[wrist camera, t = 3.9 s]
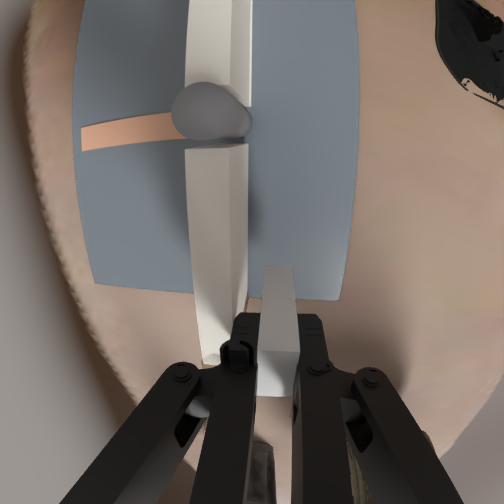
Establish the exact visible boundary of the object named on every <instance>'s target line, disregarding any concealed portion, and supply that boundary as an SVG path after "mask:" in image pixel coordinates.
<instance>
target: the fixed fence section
mask: <svg viewBox="0 0 504 504" xmlns="http://www.w3.org/2000/svg"><path fill="white" fill-rule="evenodd" d="M250 21H251V0H190V2H189V13H188V26H187V42H186V62H185V88H184V89H182V90H181V91H180V92H179V94H178V95H177V96H176V98H175V100H174V102H173V105H172V109H171V118H172V122H173V124H174V126H175V128H176V129H177V131H178V132H179V133H180V134H181V135H183V136H184V137H186V138H188V139H191V140H199V141H201V140H215V139H235V138H241V137H244V136H245V135H247V134H248V133H249V132H250V130H251V128H252V125H253V120H252V116H251V115H250V113H249V112H248V111H247V110H246V109H245V108H244V107H249V94H250Z"/></svg>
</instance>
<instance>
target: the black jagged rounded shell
mask: <svg viewBox="0 0 504 504" xmlns="http://www.w3.org/2000/svg"><path fill="white" fill-rule="evenodd" d="M435 37H436V44H437V48H438V52H439V54H440V56H441V58H442V60H443V62H444V64H445V65H446V67H447V68H448V70H449V71H450V73H451V74H452V75H453V77H454V78H455V79H456V81H457V82H458V83H459V84H460V85H461V86H462V87H463V88H464V89H465V90H467V91H469V90H468V89H466V88H465V87H464V86H466V84H464V83H463V84H464V86H463V85H462V83H461V82H462V80H463V79H464V78H469V79H470V80H471V81H473V83H474V84H475V85H476V86H478V87H479V88H480V89H482V90H483V91H485V92H487V93H489V92H490V93H492V95H493V99H494V95H495V96H496V98H497V102H493V101H491V100H488V99H486V98H484V97H482V96H479V95H477V94H475V93H473V94H474V95H476V96H478V97H480V98H482V99H484V100H486V101H488V102H490V103H492V104H494V105H496V106H498V107H500V108H502V109H504V107H503V106H501V105H499V104H497V103H498V101H500V100H503V98H504V22H503V21H502V20H501V18H500V17H498V16H497V17H494V15H493V14H491V13H489V11H488V10H487V9H484V8H483V7H482V6H480V5H479V4H478V3H477V2H476V1H474V0H436V36H435ZM467 82H470V81H469V80H468V81H467ZM467 82H466V83H467ZM490 96H491V94H490Z"/></svg>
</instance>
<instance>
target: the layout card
mask: <svg viewBox="0 0 504 504" xmlns="http://www.w3.org/2000/svg"><path fill="white" fill-rule="evenodd" d="M189 2H190V0H85V4H84V8H83V13H82V18H81V23H80V29H79V35H78V42H77V49H76V58H75V68H74V81H73V104H72V130H73V154H74V167H75V178H76V187H77V196H78V203H79V210H80V216H81V222H82V228H83V234H84V239H85V244H86V249H87V253H88V258H89V262H90V266H91V270H92V274H93V278H94V282H95V284H103V285H111V286H119V287H128V288H138V289H147V290H158V291H168V292H180V293H192V294H194V286H193V277H192V266H191V255H190V243H189V229H188V214H187V196H186V173H185V149H190V148H196V147H202V146H208V145H215V144H225V143H248V292H249V297H252V298H262V295H263V284H264V273H265V266H270V267H292V268H293V277H294V287H295V297H296V299H298V300H339V297H340V292H341V286H342V281H343V275H344V269H345V263H346V257H347V251H348V244H349V237H350V230H351V222H352V214H353V205H354V196H355V185H356V174H357V160H358V144H359V118H360V70H359V46H358V31H357V19H356V9H355V0H251V21H250V94H249V107H244V108H245V109H246V110H247V111H248V112H249V113H250V115H251V116H252V120H253V125H252V128H251V130H250V132H249V133H248V134H247V135H245V136H244V137H241V138H235V139H215V140H201V141H199V140H191V139H188V138H186V137H184V136H183V135H181V134H180V133H179V132H178V131H177V129H176V128H175V126H174V124H173V122H172V118H171V109H172V105H173V102H174V100H175V98H176V96H177V95H178V94H179V92H180V91H181V90H182V89H184V88H185V62H186V42H187V26H188V13H189Z"/></svg>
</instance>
